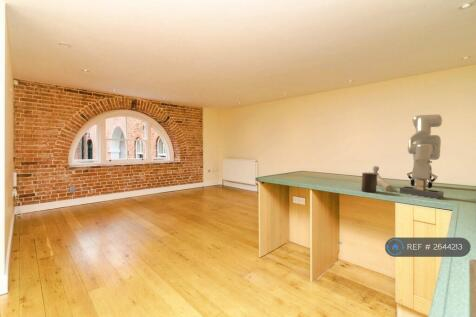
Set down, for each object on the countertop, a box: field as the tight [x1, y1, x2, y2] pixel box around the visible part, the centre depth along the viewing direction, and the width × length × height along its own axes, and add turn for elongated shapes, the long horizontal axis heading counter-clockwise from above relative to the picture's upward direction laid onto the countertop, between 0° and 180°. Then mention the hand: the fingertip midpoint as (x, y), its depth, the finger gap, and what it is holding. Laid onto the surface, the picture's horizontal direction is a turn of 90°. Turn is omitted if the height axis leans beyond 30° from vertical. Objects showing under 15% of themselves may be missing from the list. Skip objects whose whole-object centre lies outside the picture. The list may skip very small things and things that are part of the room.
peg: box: [415, 179, 427, 190], centre depth 160 cm, size 4×4×10 cm
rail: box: [399, 185, 445, 200], centre depth 160 cm, size 9×22×4 cm, turn 32°
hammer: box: [371, 165, 393, 192], centre depth 187 cm, size 16×5×30 cm
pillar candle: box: [361, 171, 378, 194], centre depth 172 cm, size 10×10×15 cm
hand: (420, 186), depth 160 cm, fingers open, 9 cm apart
